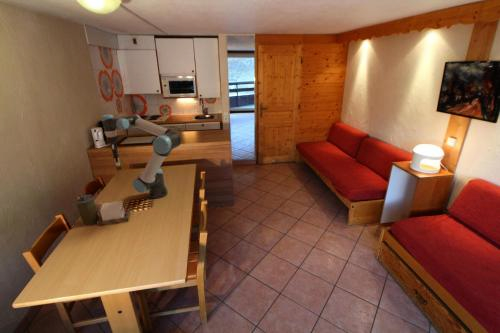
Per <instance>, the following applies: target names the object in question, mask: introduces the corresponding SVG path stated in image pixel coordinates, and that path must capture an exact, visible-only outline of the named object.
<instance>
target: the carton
mask: <svg viewBox="0 0 500 333" xmlns="http://www.w3.org/2000/svg"><path fill="white" fill-rule="evenodd" d="M103 203H104V202H103ZM99 213H100V215H101V216H102V220H103V221H105V220H111V219H117V218H123V217H126V210H125V208H124V203H123V200H118V201H117V200H116V201H110V202H105V203H104V204H103V205H102V208H101V210H100V212H99Z"/></svg>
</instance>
